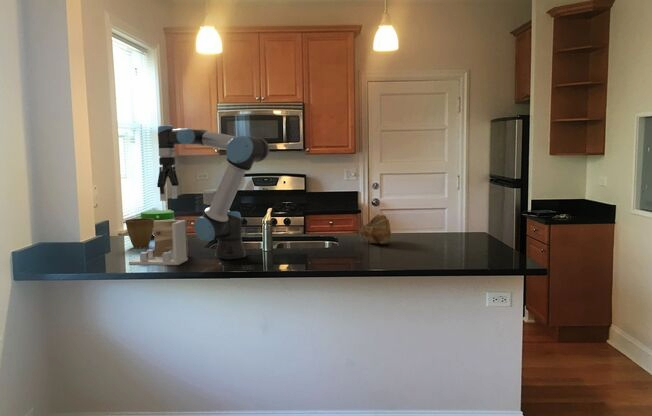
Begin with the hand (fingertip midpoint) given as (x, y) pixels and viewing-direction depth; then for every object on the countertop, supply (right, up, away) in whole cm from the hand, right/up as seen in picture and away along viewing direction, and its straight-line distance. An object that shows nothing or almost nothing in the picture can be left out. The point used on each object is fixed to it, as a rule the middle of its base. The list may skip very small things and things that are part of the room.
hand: (169, 199), depth 266 cm
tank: (-27, -24, +61) cm, 70 cm away
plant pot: (-24, -27, +28) cm, 45 cm away
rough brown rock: (+106, -24, +36) cm, 114 cm away
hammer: (+12, -24, +52) cm, 59 cm away
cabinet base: (-1, -30, -12) cm, 32 cm away
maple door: (+1, -28, +3) cm, 29 cm away
